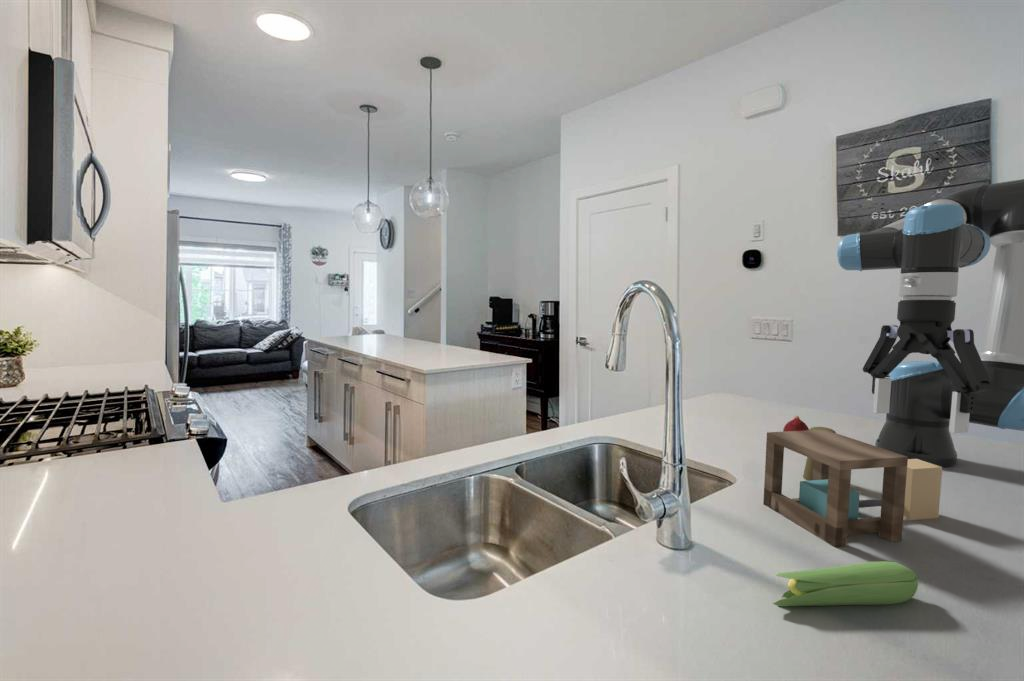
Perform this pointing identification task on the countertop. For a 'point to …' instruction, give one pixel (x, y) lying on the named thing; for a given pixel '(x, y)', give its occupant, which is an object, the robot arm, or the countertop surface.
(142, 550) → the countertop surface
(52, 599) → the countertop surface
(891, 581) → the edible corn
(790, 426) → the onion
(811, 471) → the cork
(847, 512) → the walnut bench
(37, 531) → the countertop surface
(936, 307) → the robot arm
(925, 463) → the square-ended dumbbell
